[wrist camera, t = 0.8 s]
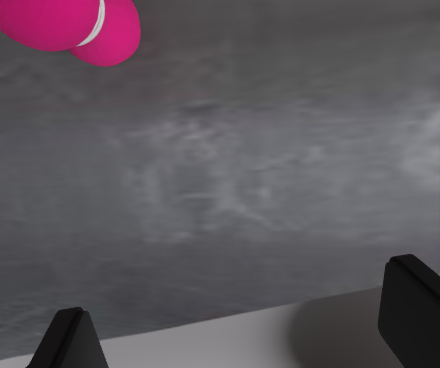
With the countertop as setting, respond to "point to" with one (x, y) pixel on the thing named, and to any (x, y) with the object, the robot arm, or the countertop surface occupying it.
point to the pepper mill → (74, 27)
